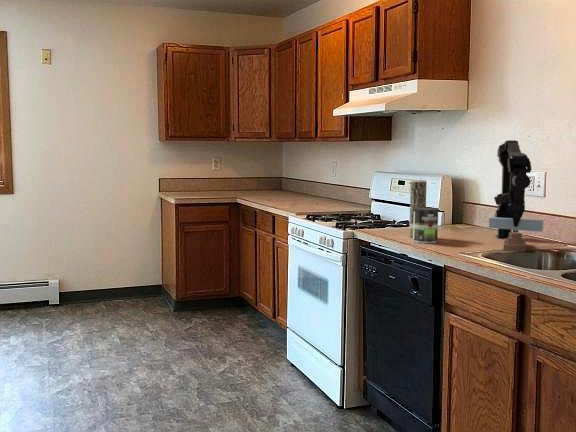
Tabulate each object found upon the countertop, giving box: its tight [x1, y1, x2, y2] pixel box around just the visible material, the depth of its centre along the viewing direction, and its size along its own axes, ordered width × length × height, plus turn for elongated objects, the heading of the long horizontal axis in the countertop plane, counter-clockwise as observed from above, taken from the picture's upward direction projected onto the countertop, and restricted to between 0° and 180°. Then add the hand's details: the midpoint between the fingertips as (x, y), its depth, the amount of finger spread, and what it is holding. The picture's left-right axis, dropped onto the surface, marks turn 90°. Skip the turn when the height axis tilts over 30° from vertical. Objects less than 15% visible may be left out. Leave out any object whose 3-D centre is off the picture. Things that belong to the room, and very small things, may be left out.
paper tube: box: [409, 179, 427, 238], centre depth 277 cm, size 7×7×25 cm
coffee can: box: [412, 206, 439, 244], centre depth 266 cm, size 10×10×14 cm
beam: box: [488, 216, 544, 233], centre depth 252 cm, size 4×20×4 cm, turn 57°
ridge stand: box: [503, 230, 527, 252], centre depth 252 cm, size 18×8×6 cm, turn 160°
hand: (515, 226), depth 252 cm, fingers closed on beam, 4 cm apart
